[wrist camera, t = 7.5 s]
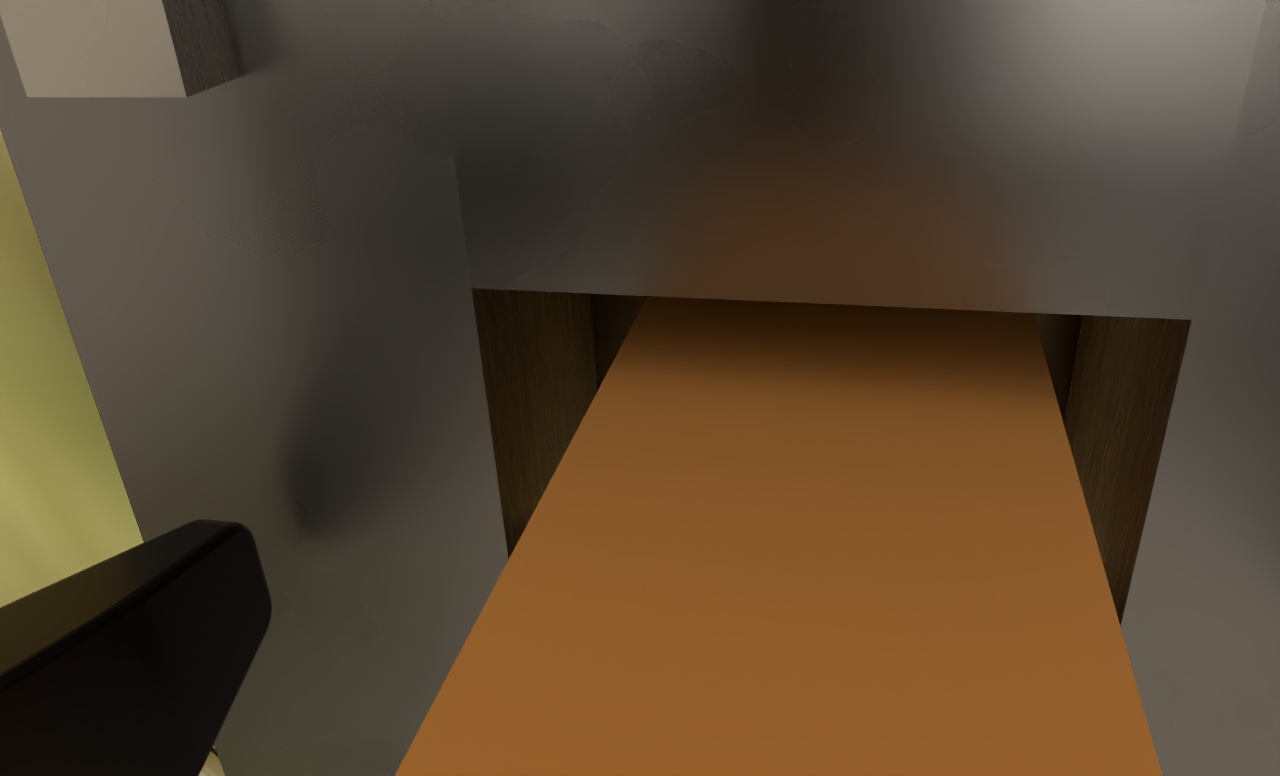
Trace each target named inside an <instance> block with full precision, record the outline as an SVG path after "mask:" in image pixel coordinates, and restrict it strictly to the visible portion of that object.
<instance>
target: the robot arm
mask: <svg viewBox="0 0 1280 776" xmlns="http://www.w3.org/2000/svg"><path fill="white" fill-rule="evenodd" d="M271 614H272V600H271V595H270V591H269V588H268V584H267V581H266V577H265V574H264V570H263V567H262V563H261V560H260V556H259V553H258V549H257V545H256V542H255V539H254V536H253V534H252V532H251V531H250V530H249V529H248V527H247V526H245V525H243V524H241V523H238V522H231V521H221V520H212V519H199V520H194V521H191V522H189V523H187V524H184V525H182V526H180V527H178V528H175V529H173V530H171V531H169V532H167V533H164V534H162V535H160V536H158V537H156V538H153V539H151V540H149V541H147V542H145V543H142V544H140V545H138V546H136V547H133V548H131V549H129V550H127V551H125V552H122V553H120V554H118V555H116V556H114V557H111V558H109V559H107V560H105V561H102V562H100V563H98V564H96V565H94V566H91V567H89V568H87V569H85V570H83V571H80V572H78V573H76V574H74V575H71V576H69V577H67V578H65V579H63V580H60V581H58V582H56V583H54V584H52V585H49V586H47V587H45V588H43V589H40V590H38V591H36V592H34V593H32V594H29V595H27V596H25V597H23V598H21V599H18V600H16V601H14V602H12V603H9V604H7V605H5V606H3V607H1V608H0V776H199V774H200V772H201V770H202V768H203V766H204V764H205V762H206V760H207V758H208V756H209V754H210V752H211V749H212V747H213V745H214V743H215V741H216V739H217V737H218V735H219V732H220V730H221V728H222V726H223V724H224V722H225V720H226V718H227V715H228V713H229V711H230V709H231V707H232V705H233V703H234V701H235V698H236V696H237V694H238V692H239V690H240V688H241V686H242V684H243V681H244V679H245V677H246V675H247V673H248V671H249V669H250V667H251V664H252V662H253V660H254V658H255V656H256V654H257V652H258V650H259V647H260V645H261V643H262V641H263V639H264V637H265V635H266V633H267V630H268V627H269V624H270V620H271Z"/></svg>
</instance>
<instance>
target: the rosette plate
mask: <svg viewBox="0 0 1280 776" xmlns="http://www.w3.org/2000/svg"><path fill="white" fill-rule="evenodd" d="M0 129H1V132H2V135H3V138H4V141H5V143H6V146H7V149H8V152H9V155H10V158H11V161H12V164H13V167H14V169H15V172H16V175H17V178H18V181H19V184H20V187H21V190H22V192H23V195H24V198H25V201H26V204H27V207H28V210H29V213H30V216H31V218H32V221H33V224H34V227H35V230H36V233H37V236H38V239H39V241H40V244H41V247H42V250H43V253H44V256H45V259H46V262H47V264H48V267H49V270H50V273H51V276H52V279H53V282H54V285H55V288H56V290H57V293H58V296H59V299H60V302H61V305H62V308H63V311H64V313H65V316H66V319H67V322H68V325H69V328H70V331H71V334H72V337H73V339H74V342H75V345H76V348H77V351H78V354H79V357H80V360H81V362H82V365H83V368H84V371H85V374H86V377H87V380H88V383H89V386H90V388H91V391H92V394H93V397H94V400H95V403H96V406H97V409H98V411H99V414H100V417H101V420H102V423H103V426H104V429H105V432H106V434H107V437H108V440H109V443H110V446H111V449H112V452H113V455H114V458H115V460H116V463H117V466H118V469H119V472H120V475H121V478H122V481H123V483H124V486H125V489H126V492H127V495H128V498H129V501H130V504H131V507H132V509H133V512H134V515H135V518H136V521H137V524H138V527H139V530H140V532H141V535H142V538H143V541H144V543H145V542H147V541H149V540H151V539H153V538H156V537H158V536H160V535H162V534H164V533H167V532H169V531H171V530H173V529H175V528H178V527H180V526H182V525H184V524H187V523H189V522H191V521H194V520H199V519H212V520H221V521H231V522H238V523H241V524H243V525H245V526H247V527H248V529H249V530H250V531H251V532H252V534H253V536H254V539H255V542H256V545H257V549H258V553H259V556H260V560H261V563H262V567H263V570H264V574H265V577H266V581H267V584H268V588H269V591H270V595H271V600H272V614H271V620H270V624H269V627H268V630H267V633H266V635H265V637H264V639H263V641H262V643H261V645H260V647H259V650H258V652H257V654H256V656H255V658H254V660H253V662H252V664H251V667H250V669H249V671H248V673H247V675H246V677H245V679H244V681H243V684H242V686H241V688H240V690H239V692H238V694H237V696H236V698H235V701H234V703H233V705H232V707H231V709H230V711H229V713H228V715H227V718H226V720H225V722H224V724H223V726H222V728H221V730H220V732H219V735H218V737H217V739H216V741H215V743H214V746H215V749H216V751H217V754H218V757H219V760H220V763H221V766H222V769H223V772H224V774H225V776H395V774H396V772H397V770H398V769H399V767H400V765H401V763H402V761H403V759H404V757H405V755H406V753H407V752H408V750H409V748H410V746H411V744H412V742H413V740H414V738H415V736H416V734H417V733H418V731H419V729H420V727H421V725H422V723H423V721H424V719H425V717H426V716H427V714H428V712H429V710H430V708H431V706H432V704H433V702H434V700H435V698H436V697H437V695H438V693H439V691H440V689H441V687H442V685H443V683H444V681H445V679H446V678H447V676H448V674H449V672H450V670H451V668H452V666H453V664H454V662H455V661H456V659H457V657H458V655H459V653H460V651H461V649H462V647H463V645H464V643H465V642H466V640H467V638H468V636H469V634H470V632H471V630H472V628H473V626H474V624H475V623H476V621H477V619H478V617H479V615H480V613H481V611H482V609H483V607H484V606H485V604H486V602H487V600H488V598H489V596H490V594H491V592H492V590H493V588H494V587H495V585H496V583H497V581H498V579H499V577H500V575H501V573H502V571H503V569H504V568H505V566H506V564H507V562H508V560H509V558H510V556H511V554H512V552H513V551H514V549H515V547H516V545H517V543H518V541H519V539H520V537H521V535H522V533H523V532H524V530H525V528H526V526H527V524H528V522H529V520H530V518H531V516H532V515H533V513H534V511H535V509H536V507H537V505H538V503H539V501H540V499H541V497H542V496H543V494H544V492H545V490H546V488H547V486H548V484H549V482H550V480H551V478H552V477H553V475H554V473H555V471H556V469H557V467H558V465H559V463H560V461H561V460H562V458H563V456H564V454H565V452H566V450H567V448H568V446H569V444H570V442H571V441H572V439H573V437H574V435H575V433H576V431H577V429H578V427H579V425H580V423H581V422H582V420H583V418H584V416H585V414H586V412H587V410H588V408H589V406H590V405H591V403H592V401H593V399H594V397H595V395H596V393H597V391H598V386H597V373H596V360H595V347H594V334H593V320H592V307H591V294H613V295H636V296H659V297H682V298H705V299H727V300H750V301H773V302H796V303H819V304H842V305H865V306H888V307H910V308H933V309H956V310H979V311H1002V312H1025V313H1048V314H1070V315H1083V316H1082V321H1081V327H1080V333H1079V338H1078V344H1077V350H1076V356H1075V361H1074V367H1073V373H1072V378H1071V384H1070V390H1069V395H1068V401H1067V407H1066V413H1065V418H1064V427H1065V430H1066V434H1067V437H1068V441H1069V445H1070V448H1071V452H1072V455H1073V459H1074V462H1075V466H1076V470H1077V473H1078V477H1079V480H1080V484H1081V487H1082V491H1083V495H1084V498H1085V502H1086V505H1087V509H1088V512H1089V516H1090V519H1091V523H1092V527H1093V530H1094V534H1095V537H1096V541H1097V544H1098V548H1099V552H1100V555H1101V559H1102V562H1103V566H1104V569H1105V573H1106V577H1107V580H1108V584H1109V587H1110V591H1111V594H1112V598H1113V601H1114V605H1115V609H1116V612H1117V616H1118V619H1119V623H1120V626H1121V630H1122V634H1123V637H1124V641H1125V644H1126V648H1127V651H1128V655H1129V659H1130V662H1131V666H1132V669H1133V673H1134V676H1135V680H1136V683H1137V687H1138V691H1139V694H1140V698H1141V701H1142V705H1143V708H1144V712H1145V716H1146V719H1147V723H1148V726H1149V730H1150V733H1151V737H1152V741H1153V744H1154V748H1155V751H1156V755H1157V758H1158V762H1159V765H1160V769H1161V773H1162V776H1280V0H0Z"/></svg>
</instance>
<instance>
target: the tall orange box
mask: <svg viewBox="0 0 1280 776" xmlns="http://www.w3.org/2000/svg"><path fill="white" fill-rule="evenodd" d="M395 776H1162V773H1161V769H1160V765H1159V762H1158V758H1157V755H1156V751H1155V748H1154V744H1153V741H1152V737H1151V733H1150V730H1149V726H1148V723H1147V719H1146V716H1145V712H1144V708H1143V705H1142V701H1141V698H1140V694H1139V691H1138V687H1137V683H1136V680H1135V676H1134V673H1133V669H1132V666H1131V662H1130V659H1129V655H1128V651H1127V648H1126V644H1125V641H1124V637H1123V634H1122V630H1121V626H1120V623H1119V619H1118V616H1117V612H1116V609H1115V605H1114V601H1113V598H1112V594H1111V591H1110V587H1109V584H1108V580H1107V577H1106V573H1105V569H1104V566H1103V562H1102V559H1101V555H1100V552H1099V548H1098V544H1097V541H1096V537H1095V534H1094V530H1093V527H1092V523H1091V519H1090V516H1089V512H1088V509H1087V505H1086V502H1085V498H1084V495H1083V491H1082V487H1081V484H1080V480H1079V477H1078V473H1077V470H1076V466H1075V462H1074V459H1073V455H1072V452H1071V448H1070V445H1069V441H1068V437H1067V434H1066V430H1065V427H1064V423H1063V420H1062V416H1061V413H1060V409H1059V405H1058V402H1057V398H1056V395H1055V391H1054V388H1053V384H1052V380H1051V377H1050V373H1049V370H1048V366H1047V363H1046V359H1045V355H1044V352H1043V348H1042V345H1041V341H1040V338H1039V334H1038V331H1037V327H1036V323H1035V320H1034V316H1033V313H1025V312H1002V311H979V310H956V309H933V308H910V307H888V306H865V305H842V304H819V303H796V302H773V301H750V300H727V299H705V298H682V297H659V296H647V298H646V300H645V302H644V304H643V306H642V308H641V310H640V312H639V314H638V315H637V317H636V319H635V321H634V323H633V325H632V327H631V329H630V331H629V332H628V334H627V336H626V338H625V340H624V342H623V344H622V346H621V348H620V350H619V351H618V353H617V355H616V357H615V359H614V361H613V363H612V365H611V367H610V368H609V370H608V372H607V374H606V376H605V378H604V380H603V382H602V384H601V386H600V387H599V389H598V391H597V393H596V395H595V397H594V399H593V401H592V403H591V405H590V406H589V408H588V410H587V412H586V414H585V416H584V418H583V420H582V422H581V423H580V425H579V427H578V429H577V431H576V433H575V435H574V437H573V439H572V441H571V442H570V444H569V446H568V448H567V450H566V452H565V454H564V456H563V458H562V460H561V461H560V463H559V465H558V467H557V469H556V471H555V473H554V475H553V477H552V478H551V480H550V482H549V484H548V486H547V488H546V490H545V492H544V494H543V496H542V497H541V499H540V501H539V503H538V505H537V507H536V509H535V511H534V513H533V515H532V516H531V518H530V520H529V522H528V524H527V526H526V528H525V530H524V532H523V533H522V535H521V537H520V539H519V541H518V543H517V545H516V547H515V549H514V551H513V552H512V554H511V556H510V558H509V560H508V562H507V564H506V566H505V568H504V569H503V571H502V573H501V575H500V577H499V579H498V581H497V583H496V585H495V587H494V588H493V590H492V592H491V594H490V596H489V598H488V600H487V602H486V604H485V606H484V607H483V609H482V611H481V613H480V615H479V617H478V619H477V621H476V623H475V624H474V626H473V628H472V630H471V632H470V634H469V636H468V638H467V640H466V642H465V643H464V645H463V647H462V649H461V651H460V653H459V655H458V657H457V659H456V661H455V662H454V664H453V666H452V668H451V670H450V672H449V674H448V676H447V678H446V679H445V681H444V683H443V685H442V687H441V689H440V691H439V693H438V695H437V697H436V698H435V700H434V702H433V704H432V706H431V708H430V710H429V712H428V714H427V716H426V717H425V719H424V721H423V723H422V725H421V727H420V729H419V731H418V733H417V734H416V736H415V738H414V740H413V742H412V744H411V746H410V748H409V750H408V752H407V753H406V755H405V757H404V759H403V761H402V763H401V765H400V767H399V769H398V770H397V772H396V774H395Z"/></svg>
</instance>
